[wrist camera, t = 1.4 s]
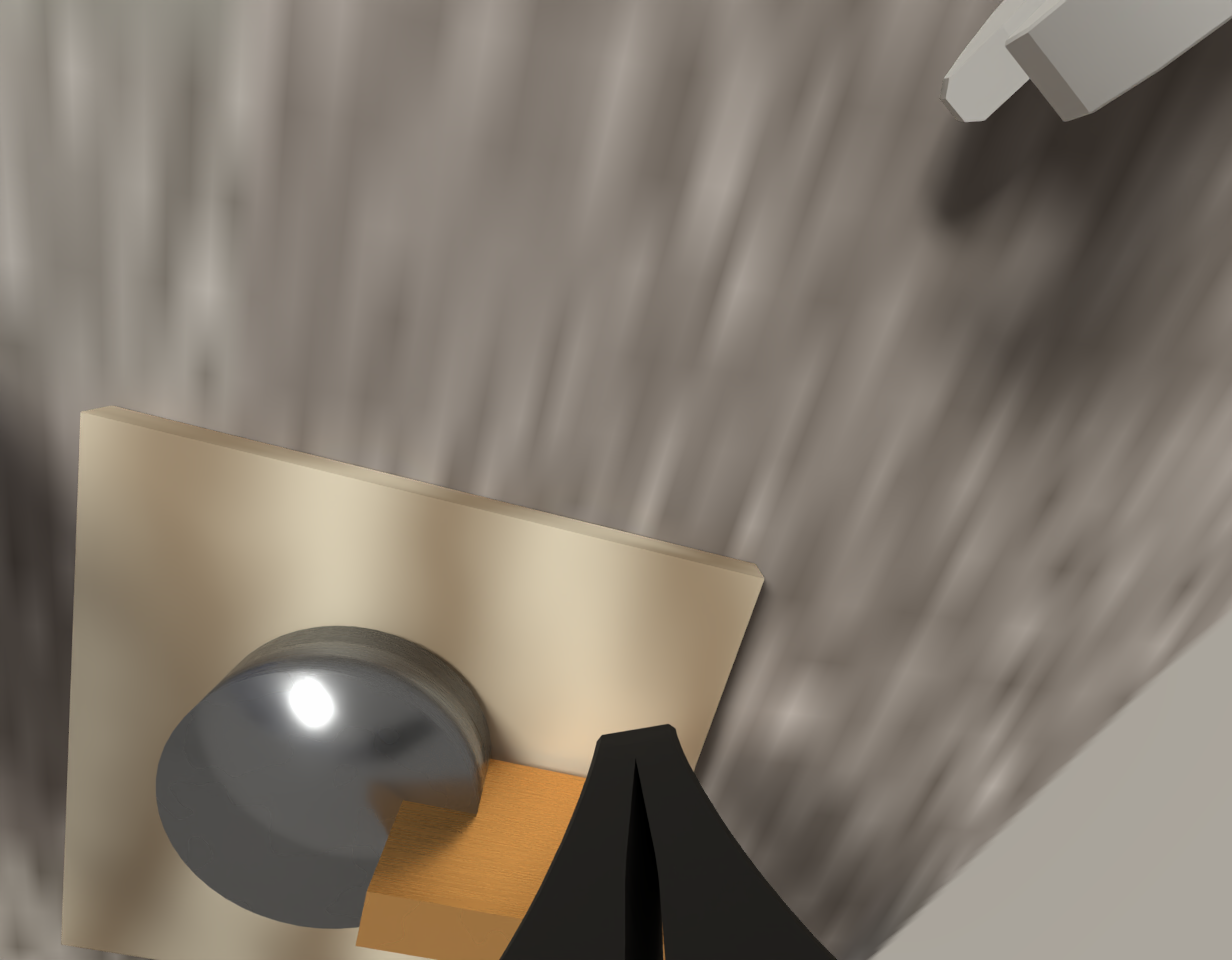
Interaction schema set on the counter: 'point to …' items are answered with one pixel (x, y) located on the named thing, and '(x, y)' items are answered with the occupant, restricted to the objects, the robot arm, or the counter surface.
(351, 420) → the counter surface
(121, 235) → the counter surface
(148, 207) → the counter surface
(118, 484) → the panel
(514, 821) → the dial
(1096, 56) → the wrench
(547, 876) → the robot arm
